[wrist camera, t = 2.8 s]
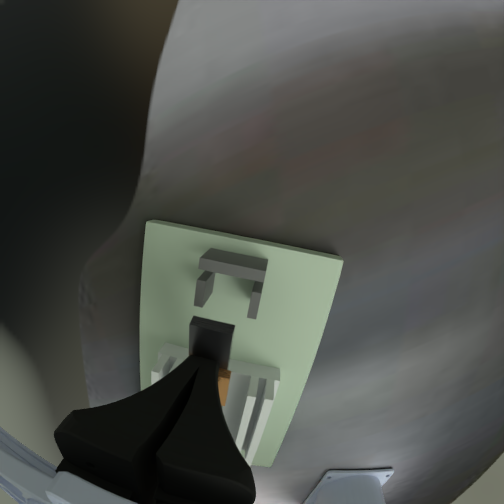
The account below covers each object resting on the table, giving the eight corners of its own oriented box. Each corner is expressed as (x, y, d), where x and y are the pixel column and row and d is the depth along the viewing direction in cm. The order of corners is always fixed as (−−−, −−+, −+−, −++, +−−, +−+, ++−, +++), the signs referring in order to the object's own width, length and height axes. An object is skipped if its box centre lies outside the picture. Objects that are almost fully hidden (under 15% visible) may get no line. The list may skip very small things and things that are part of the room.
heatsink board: (271, 458, 22) (268, 495, 18) (148, 428, 23) (131, 461, 18) (339, 256, 18) (357, 278, 13) (154, 219, 18) (118, 230, 14)
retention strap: (216, 460, 20) (213, 472, 18) (191, 454, 20) (187, 466, 19) (240, 323, 12) (235, 344, 11) (190, 312, 12) (180, 331, 11)
